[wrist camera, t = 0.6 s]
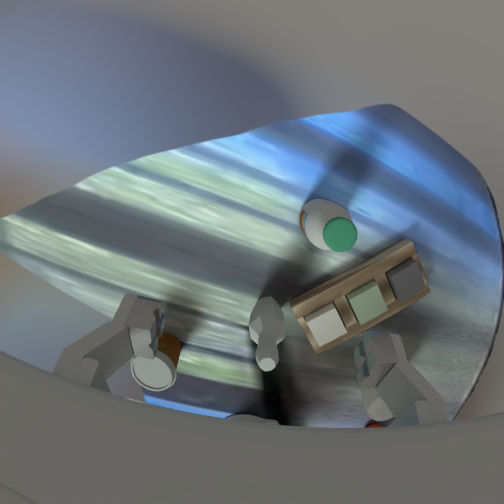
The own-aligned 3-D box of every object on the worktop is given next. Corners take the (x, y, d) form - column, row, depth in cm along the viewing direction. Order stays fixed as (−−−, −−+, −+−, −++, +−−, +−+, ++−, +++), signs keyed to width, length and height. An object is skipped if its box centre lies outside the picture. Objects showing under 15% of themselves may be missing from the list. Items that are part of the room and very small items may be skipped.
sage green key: (381, 302, 60) (388, 310, 56) (356, 317, 61) (361, 325, 57) (370, 278, 59) (377, 284, 55) (344, 292, 60) (349, 300, 56)
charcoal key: (417, 281, 59) (425, 287, 55) (393, 295, 60) (401, 302, 56) (408, 256, 58) (416, 261, 54) (383, 271, 59) (390, 276, 55)
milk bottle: (304, 193, 59) (323, 197, 40) (342, 205, 59) (376, 216, 40) (292, 231, 61) (304, 254, 41) (330, 243, 61) (357, 271, 41)
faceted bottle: (246, 299, 64) (236, 355, 42) (275, 287, 63) (278, 338, 42) (260, 325, 65) (256, 388, 44) (288, 313, 64) (296, 372, 43)
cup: (361, 357, 66) (376, 387, 54) (395, 361, 66) (413, 389, 54) (349, 389, 68) (360, 421, 56) (381, 391, 68) (396, 421, 56)
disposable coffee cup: (183, 324, 66) (167, 351, 54) (192, 362, 68) (179, 393, 56) (143, 326, 67) (122, 352, 55) (153, 363, 68) (136, 392, 57)
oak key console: (422, 286, 62) (430, 291, 58) (314, 345, 66) (317, 355, 62) (404, 237, 60) (412, 241, 56) (289, 300, 64) (290, 308, 60)
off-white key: (343, 323, 62) (347, 332, 58) (316, 337, 62) (319, 346, 58) (331, 300, 61) (335, 307, 57) (304, 314, 61) (306, 322, 58)
